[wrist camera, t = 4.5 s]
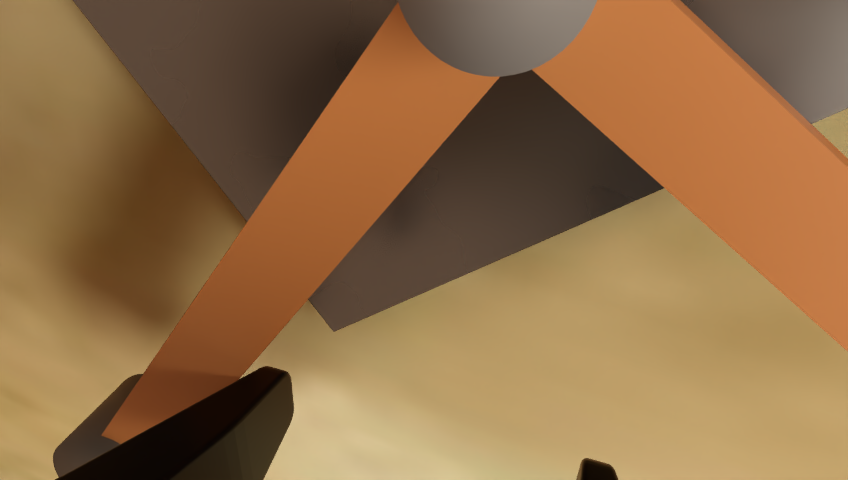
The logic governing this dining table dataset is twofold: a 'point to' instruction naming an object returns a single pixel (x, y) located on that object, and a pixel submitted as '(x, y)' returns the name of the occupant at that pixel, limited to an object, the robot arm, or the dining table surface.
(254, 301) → the clip
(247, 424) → the robot arm
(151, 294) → the dining table surface
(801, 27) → the socket plate
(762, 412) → the dining table surface
